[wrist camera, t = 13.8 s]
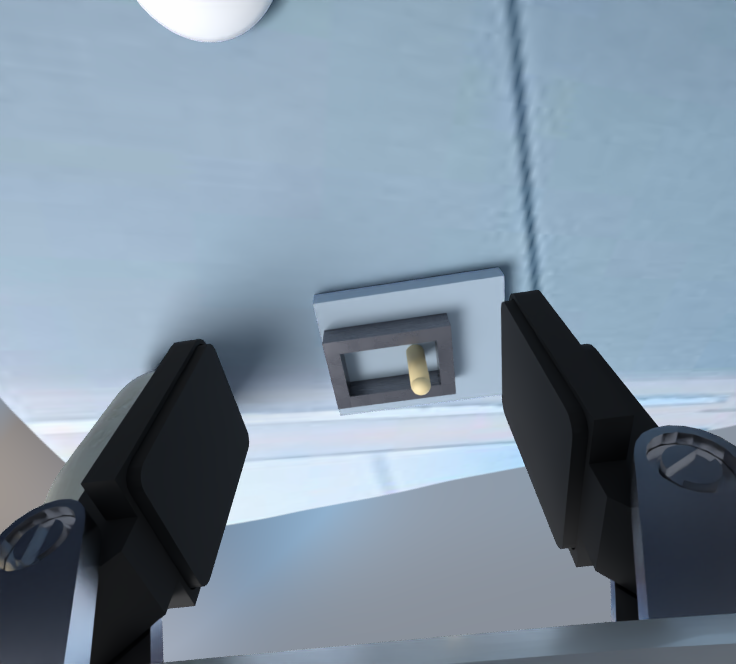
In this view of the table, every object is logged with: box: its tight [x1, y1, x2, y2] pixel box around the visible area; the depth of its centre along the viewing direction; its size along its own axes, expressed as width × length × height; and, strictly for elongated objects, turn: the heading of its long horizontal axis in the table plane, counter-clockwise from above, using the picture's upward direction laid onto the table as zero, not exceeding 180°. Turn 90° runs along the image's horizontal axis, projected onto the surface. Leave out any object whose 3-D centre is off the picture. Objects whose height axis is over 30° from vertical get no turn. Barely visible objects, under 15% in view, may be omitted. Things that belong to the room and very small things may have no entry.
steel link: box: [322, 313, 456, 409], centre depth 46 cm, size 12×8×2 cm, turn 99°
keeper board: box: [313, 267, 504, 416], centre depth 45 cm, size 18×14×8 cm
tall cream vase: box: [44, 371, 155, 504], centre depth 39 cm, size 10×10×28 cm
